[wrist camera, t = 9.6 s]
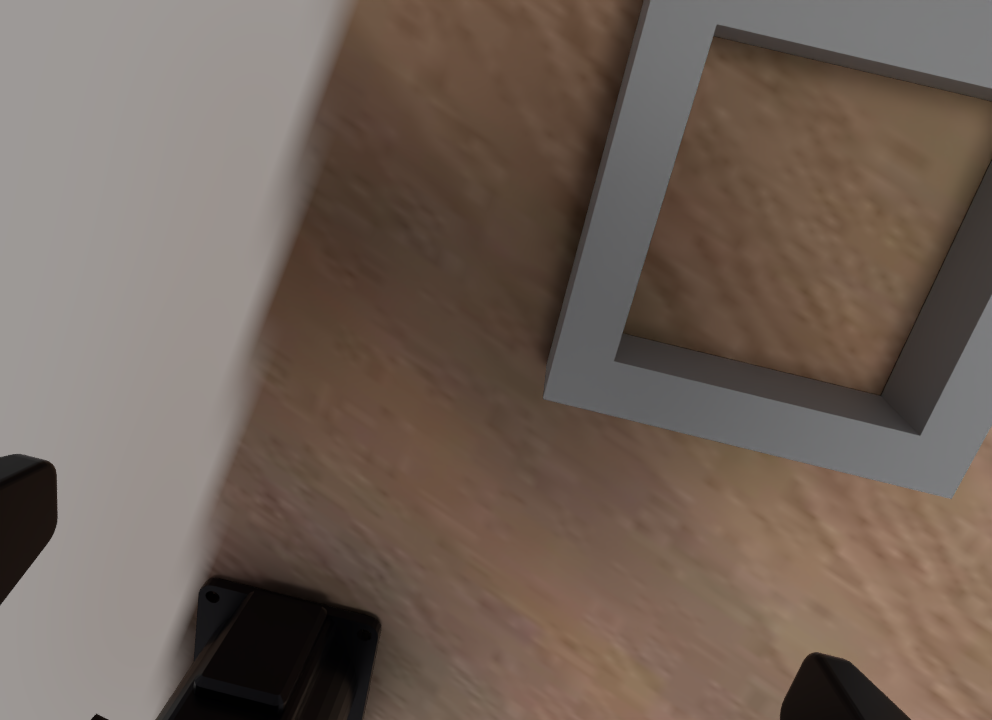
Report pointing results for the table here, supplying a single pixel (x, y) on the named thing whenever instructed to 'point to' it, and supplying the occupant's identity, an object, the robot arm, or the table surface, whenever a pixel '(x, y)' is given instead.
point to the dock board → (753, 389)
